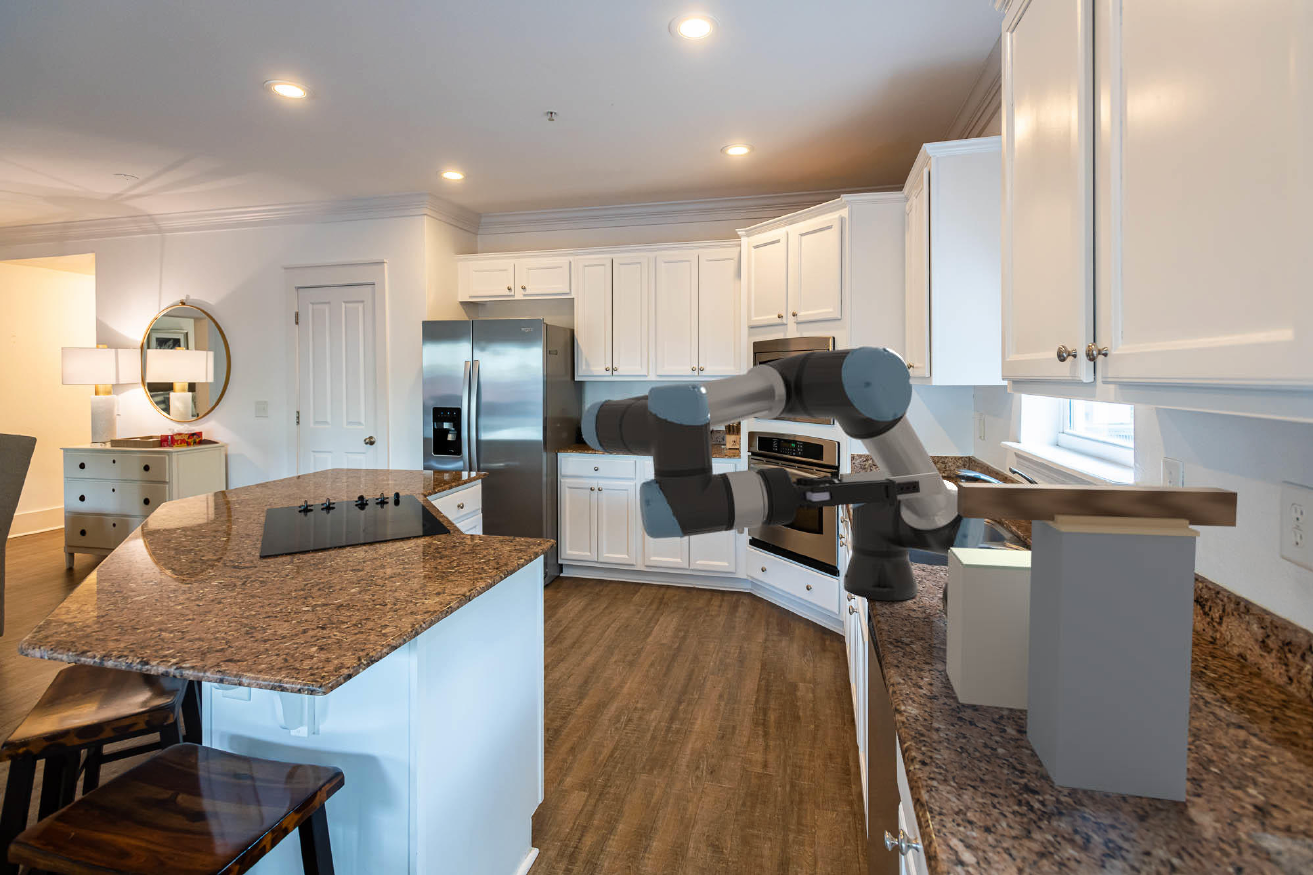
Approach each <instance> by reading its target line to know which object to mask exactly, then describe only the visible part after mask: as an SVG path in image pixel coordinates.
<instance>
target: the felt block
mask: <svg viewBox="0 0 1313 875" xmlns="http://www.w3.org/2000/svg"><path fill="white" fill-rule="evenodd" d="M947 582H948V599H947V617H946V618H947V619H946V620H947V621H946V662H945V663H946V669H945V670H946V675H947V677H948V679H949V681H950V684H951V687H953V691H954V694H956V697H957V699H958V702H959V703H960V704H967V705H975V706H986V707H995V708H996V707H997V708H1006V709H1007V708H1008V709H1017V710H1026V711H1027V708H1028V666H1029V624H1030V582H1031V550H1015V549H1014V550H1013V549H993V548H992V549H991V548H989V549H988V548H978V549H972V548H950V550H948V555H947Z"/></svg>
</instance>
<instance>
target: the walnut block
mask: <svg viewBox="0 0 1313 875" xmlns="http://www.w3.org/2000/svg"><path fill="white" fill-rule="evenodd" d="M957 488H958V491H957V513H958V514H960V515H961V516H962V517H963V518H978V519H985V520H989V519H990V520H1011V521H1014V520H1016V521H1018V520H1019V521H1032V520H1041V521H1055V515H1070V516H1103V517H1137V518H1170V519H1185V520H1188V521H1189V526H1201V527H1203V526H1205V527H1231V528H1233V527H1235V528H1236V527H1237V515H1238V514H1237V510H1238V492H1237V491H1232V490H1229V489H1226V488H1225V489H1224V488H1219V487H1213V486H1212V487H1209V486H1206V487H1205V486H1200V487H1199V486H1162V485H1161V486H1156V485H1155V486H1154V485H1153V486H1151V485H1150V486H1149V485H1147V486H1146V485H1101V484H1100V485H1099V484H1049V483H1048V484H1047V483H1046V484H1045V483H1039V484H1038V483H999V482H997V483H996V482H994V483H993V482H992V483H991V482H957Z"/></svg>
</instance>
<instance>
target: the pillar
mask: <svg viewBox="0 0 1313 875" xmlns="http://www.w3.org/2000/svg"><path fill="white" fill-rule="evenodd" d="M1200 535H1201V531H1199V530H1196V529H1193V528H1191V527H1190V525H1189V521H1188V520H1185V519H1170V518H1137V517H1103V516H1070V515H1055V521H1041V520H1031V543H1030V544H1031V548H1030V549H1031V550H1030V551H1031V582H1030V624H1029V666H1028V708H1027V710H1026V712H1027V713H1026V714H1027V715H1026V716H1027V717H1026V739H1027V740H1028V742H1029V743H1030V746H1031V747H1032V749H1033V750H1034V753H1036V756H1037V757H1038V758H1039V760H1040V762H1041V764H1042V765H1043V767H1044V769H1045V770H1046V772H1047V773H1048V775H1049V777H1050V779H1051V780H1052V782H1053V784H1054V785H1055V786H1057V787H1064V788H1065V787H1067V788H1073V789H1080V790H1087V791H1088V790H1090V791H1096V792H1097V791H1098V792H1104V793H1105V792H1106V793H1111V794H1118V795H1119V794H1121V795H1129V796H1135V797H1136V796H1137V797H1144V798H1153V799H1160V800H1168V801H1174V802H1175V801H1176V802H1184V803H1186V801H1187V800H1186V796H1187V795H1186V794H1187V777H1188V776H1187V774H1188V773H1187V772H1188V750H1189V749H1188V748H1189V725H1190V724H1189V722H1190V719H1189V718H1190V703H1191V702H1190V699H1191V698H1190V696H1191V676H1192V675H1191V674H1192V673H1191V672H1192V649H1193V625H1194V624H1193V622H1194V599H1195V576H1196V575H1195V574H1196V550H1197V537H1201V536H1200Z"/></svg>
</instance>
